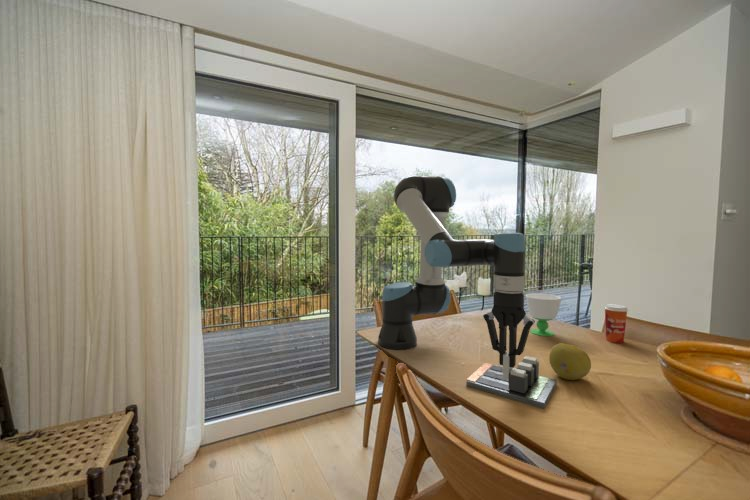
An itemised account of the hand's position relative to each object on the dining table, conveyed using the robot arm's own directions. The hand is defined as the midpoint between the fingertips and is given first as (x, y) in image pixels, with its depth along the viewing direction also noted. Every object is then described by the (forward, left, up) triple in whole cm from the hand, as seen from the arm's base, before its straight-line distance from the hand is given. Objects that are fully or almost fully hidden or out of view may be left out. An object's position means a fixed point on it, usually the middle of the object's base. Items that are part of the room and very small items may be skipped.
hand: (507, 377), depth 90 cm
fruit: (+12, +22, -5) cm, 25 cm away
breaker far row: (+3, +11, -2) cm, 12 cm away
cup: (-4, +64, -5) cm, 64 cm away
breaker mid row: (+3, +6, -2) cm, 7 cm away
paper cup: (+21, +70, -5) cm, 73 cm away
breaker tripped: (+3, 0, -2) cm, 4 cm away
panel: (0, +6, -4) cm, 7 cm away
